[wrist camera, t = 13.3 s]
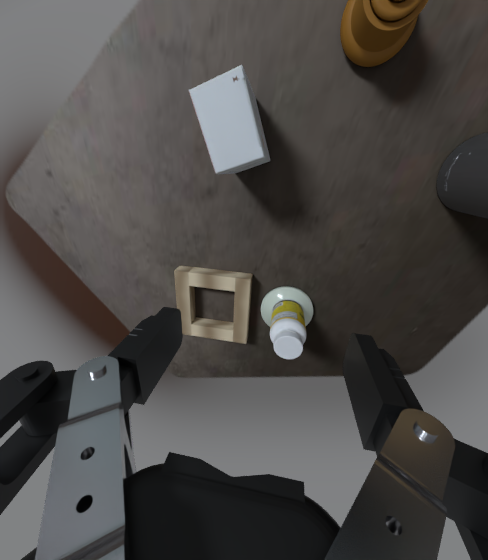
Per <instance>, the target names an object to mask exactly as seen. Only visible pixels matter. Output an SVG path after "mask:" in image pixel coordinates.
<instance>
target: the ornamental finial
mask: <svg viewBox="0 0 488 560" xmlns="http://www.w3.org/2000/svg"><path fill="white" fill-rule="evenodd" d="M427 2H428V0H348V2H347V5H346V7H345V10H344V13H343V16H342V21H341V29H340V36H341V43H342V47H343V50H344V52H345V54H346V56H347V57H348V58H349V59H350V60H351V61H352V62H353V63H355V64H357V65H359V66H363V67H372V66H377V65H380V64H382V63H384V62H386V61H388V60H389V59H391V58H392V57H393V56H394V55H395V54H397V53H398V52H399V51H400V49H401V48H402V47H403V46H404V45H405V43H406V42H407V40H408V39H409V37H410V35H411V33H412V31H413V29H414V27H415V24H416V22H417V18H418V15H419V13H420V12H421V11H422V9H423V8H424V7H425V5H426V3H427Z"/></svg>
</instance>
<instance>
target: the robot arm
mask: <svg viewBox="0 0 488 560" xmlns="http://www.w3.org/2000/svg"><path fill="white" fill-rule="evenodd" d="M437 192H438V196H439V198H440V200H441V202H442V203H443V204H444V205H445V206H446V207H448V208H450V209H452V210H455V211H458V212H462V213H466V214H471V215H475V216H479V217H483V218H487V219H488V133H483V134H480V135H477V136H474V137H472V138H471V139H469V140H467V141H465V142H463V143H462V144H461V145H460V146H458V147H457V148H456V149H455V150H454V151H453V152H452V153H451V154H450V155H449V156H448V157H447V159H446V160H445V162H444V163H443V165H442V167H441V169H440V171H439V174H438V178H437ZM182 337H183V334H182V320H181V311H180V309H176V308H168V307H163V308H162V309H161V310H160V311H159V312H158V313H157V314H156V315H155V316H150V317H148V318H146V319H144V320H143V321H141V322H140V323H139V324H138V325H137V326H136V327H135V329H133V330H132V331H131V332H130V334H129V335H128V336H127V337H126V338H125V339H124V340H123V341H122V342H121V343H120V344H119V345H118V346H117V347H116V348H115V349H114V350H113V351H112V352H111V353H110V354H109V355H108V356H102V357H97V358H94V359H91V360H89V361H88V362H85V363H84V364H83V365H81V366H80V367H79V368H78V369H77V370H69V371H58V372H55V370H54V367H53V365H52V363H50V362H48V361H35V362H31V363H28V364H25V365H23V366H20V367H19V368H17V369H15V370H13V371H12V372H10V373H9V374H8V375H6V376H5V377H4V378H2V379H1V380H0V438H1V437H2V436H3V435H4V434H5V433H6V432H7V431H8V430H9V429H10V428H11V427H12V426H13V425H14V424H16V422H18V420H19V421H20V423H21V424H22V426H21V427H20V428H19V429H18V430H17V431H16V432H15V433H14V434H13V435H12V436H11V437H10V438H9V439H8V440H7V441H6V442H5V443H4V444H3V445H2V446H1V447H0V515H1V513H2V512H3V511H4V509H5V508H6V507H7V506H8V505H9V503H10V502H11V501H12V500H13V498H14V497H15V496H16V494H17V493H18V492H19V490H20V489H21V488H22V487H23V485H24V484H25V483H26V482H27V480H28V479H29V478H30V477H31V475H32V474H33V473H34V472H35V470H36V469H37V468H38V467H39V465H40V464H41V463H42V462H43V460H44V459H45V458H46V457H47V455H48V454H49V453H50V451H51V450H52V449H53V448H54V447H55V450H54V455H53V461H52V466H51V472H50V478H49V483H48V489H47V495H46V500H45V506H44V511H43V517H42V522H41V528H40V534H39V539H38V545H37V547H36V548H35V549H34V550H33V551H31V552H30V553H29V554H27V555H26V556H25V557H23V558H22V559H21V560H437V557H438V552H439V548H440V543H441V538H442V534H443V529H444V525H445V520H446V517H448V518H450V519H452V520H454V521H455V523H456V526H457V528H458V530H459V532H460V535H461V537H462V539H463V542H464V544H465V546H466V549H467V551H468V554H469V556H470V558H471V560H488V453H486V452H484V451H481V450H479V449H477V448H474V447H472V446H469V445H467V444H465V443H462V442H460V441H458V440H456V439H454V438H453V436H452V434H451V433H450V431H449V430H448V429H447V428H446V427H445V426H444V425H443V424H442V423H441V422H440V421H439V420H437V419H436V418H435V417H433V416H432V415H430V414H428V413H426V412H424V411H423V409H422V407H421V405H420V404H419V402H418V400H417V398H416V396H415V395H414V393H413V391H412V389H411V388H410V386H409V384H408V382H407V381H406V379H404V378H405V377H404V375H403V373H402V372H401V371H400V368H399V366H398V365H397V363H396V361H395V359H394V358H393V357H392V356H391V355H390V354H389V353H387V352H386V351H385V350H384V349H378V347H377V345H376V343H375V341H374V339H373V337H372V336H369V335H362V334H355V333H353V334H352V335H351V336H350V340H349V343H348V346H347V350H346V353H345V357H344V360H343V374H344V378H345V381H346V385H347V389H348V393H349V396H350V400H351V404H352V408H353V411H354V414H355V419H356V422H357V426H358V429H359V433H360V437H361V441H362V444H363V448H364V449H366V450H371V451H376V454H377V459H376V460H375V462H374V464H373V466H372V468H371V470H370V472H369V474H368V476H367V478H366V480H365V482H364V484H363V486H362V488H361V490H360V491H359V493H358V495H357V497H356V499H355V501H354V503H353V505H352V507H351V509H350V511H349V513H348V515H347V517H346V519H345V521H344V522H343V524H342V526H341V528H340V527H339V526H338V524H337V522H336V521H335V520H334V519H333V518H332V517H331V516H330V515H329V514H328V513H327V512H326V511H325V510H324V509H323V508H322V507H321V506H320V505H318V504H317V503H316V502H314V501H313V500H312V499H310V498H309V497H307V496H305V495H304V482H301V481H297V480H292V479H288V478H283V477H278V476H274V475H270V474H266V475H253V476H241V477H231V476H229V475H227V474H225V473H224V472H222V471H220V470H218V469H217V468H215V467H213V466H212V465H210V464H208V463H206V462H205V461H203V460H201V459H198V458H194V457H189V456H185V455H180V454H176V453H171V452H169V454H168V456H167V458H166V461H165V463H164V464H158V465H153V466H150V467H147V468H145V469H142V470H140V471H138V472H136V467H135V461H134V452H133V442H132V432H131V421H130V413H129V409H130V408H131V406H132V405H133V403H138V404H143V405H144V404H145V402H146V401H147V399H148V397H149V396H150V394H151V393H152V391H153V389H154V388H155V386H156V385H157V383H158V381H159V380H160V378H161V376H162V375H163V373H164V372H165V370H166V368H167V367H168V365H169V364H170V362H171V360H172V359H173V357H174V356H175V354H176V352H177V351H178V349H179V348H180V345H181V342H182Z"/></svg>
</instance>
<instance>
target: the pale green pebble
mask: <svg viewBox="0 0 488 560" xmlns="http://www.w3.org/2000/svg"><path fill="white" fill-rule="evenodd" d="M282 299H292V300H295V301H297V302H298V303H299V304H300V305H301V306H302V308H303V312H304V319H305V326H307V325H308V324H309V322H310V321H311V319H312V316H313V305H312V302H311V300H310V298H309V296H308V295H307V294H306V293H305V292H303V291H302V290H300V289H298V288H296V287H291V286H281V287H277V288H275V289H273V290H271V291H270V292H268V293H267V294H266V296H265V297H264V299H263V301H262V305H261V314H262V317H263V319H264V321H265V322H266V324H267V325H268V326H270V327H271V317H272V309H273V306H274V305H275V304H276V303H277V302H278V301H280V300H282Z"/></svg>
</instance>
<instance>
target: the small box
mask: <svg viewBox="0 0 488 560" xmlns="http://www.w3.org/2000/svg"><path fill="white" fill-rule="evenodd" d="M189 94H190V97H191V100H192V103H193V106H194V109H195V112H196V115H197V118H198V121H199V124H200V127H201V130H202V133H203V136H204V139H205V143H206V146H207V149H208V152H209V155H210V158H211V161H212V164H213V167H214V170H215V174H233V173H238V172H241V171H244V170H247V169H250V168H253V167H256V166H258V165H261V164H264V163H267V162H269V161H271V160H270V156H269V152H268V148H267V144H266V140H265V135H264V131H263V127H262V123H261V119H260V115H259V111H258V106H257V102H256V98H255V95H254V92H253V90H252V87H251V85H250V82H249V80H248V78H247V76H246V73H245V71H244V68H243V66H242V65H240V66H238V67H236V68H234V69H232V70H230V71H228V72H226V73H224V74H222V75H220V76H218V77H215V78H213V79H211V80H209V81H207V82H205V83H203V84H201V85H199V86H197V87H195V88H193V89H190V90H189Z"/></svg>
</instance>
